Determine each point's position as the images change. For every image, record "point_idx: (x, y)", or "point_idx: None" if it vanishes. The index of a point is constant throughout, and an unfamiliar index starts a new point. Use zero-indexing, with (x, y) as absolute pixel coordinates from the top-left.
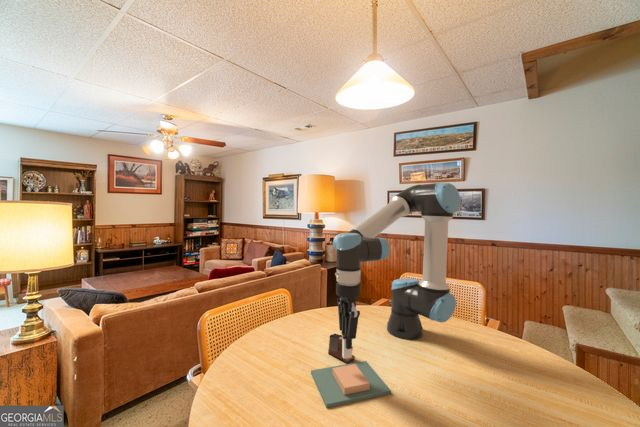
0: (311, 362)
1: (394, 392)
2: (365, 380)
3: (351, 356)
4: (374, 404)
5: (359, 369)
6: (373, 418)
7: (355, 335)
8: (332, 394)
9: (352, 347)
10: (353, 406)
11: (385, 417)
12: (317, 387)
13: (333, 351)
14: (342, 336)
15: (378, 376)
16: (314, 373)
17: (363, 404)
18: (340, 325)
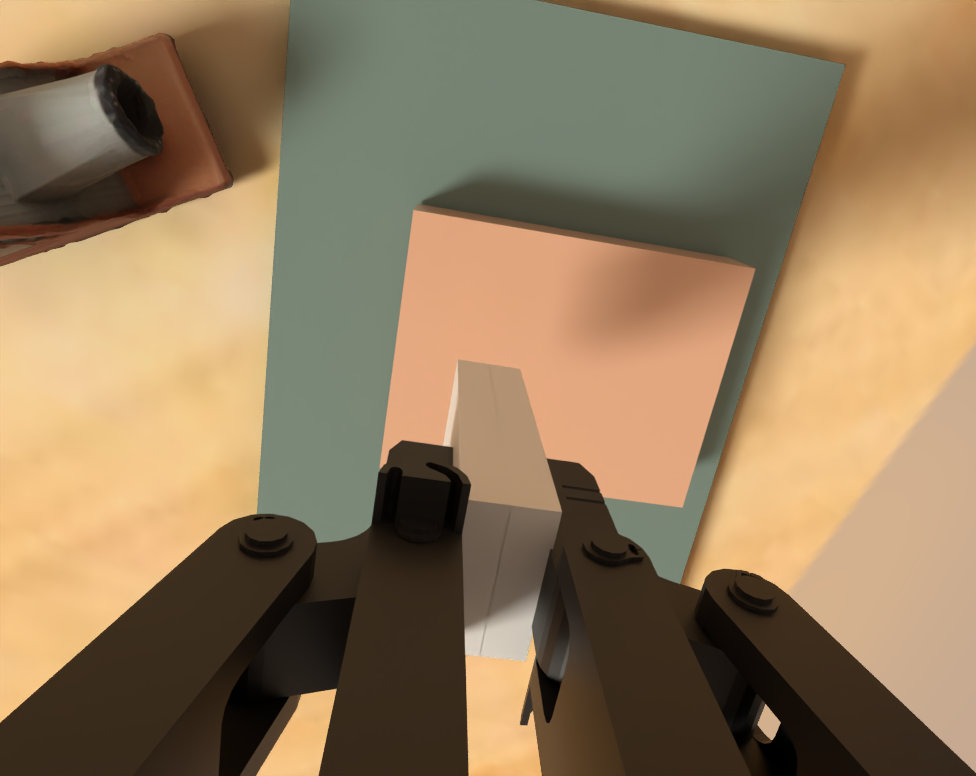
0: (93, 491)
1: (833, 16)
2: (701, 282)
3: (521, 379)
4: (827, 293)
5: (419, 148)
6: (915, 384)
7: (829, 651)
8: None
9: (115, 72)
10: (750, 443)
11: (964, 302)
12: None
13: (5, 257)
14: (526, 722)
15: (616, 26)
16: None
17: (777, 369)
18: (245, 768)
